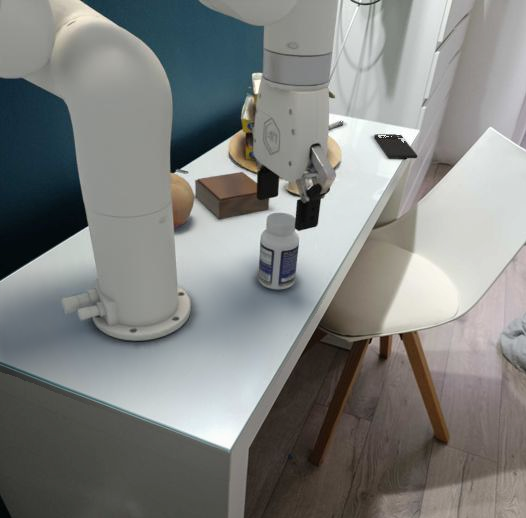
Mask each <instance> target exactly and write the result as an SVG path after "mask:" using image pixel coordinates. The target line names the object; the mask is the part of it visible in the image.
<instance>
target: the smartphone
mask: <svg viewBox="0 0 526 518" xmlns="http://www.w3.org/2000/svg"><path fill="white" fill-rule="evenodd" d="M396 134H397V133H375V134H374V135H373V138H374V139H375V141H376V142H377V143H378V144H379V146H380V147H381V149H382V151H383V152H384V153H385V155H386V157H387V158H388V159H417V158H418V154H417V153H416V151H414V149H413V148H412V146H411V145H410V144H409V143H408V142H407V140H405V141H404V143H403V142H402V141H401V139H398V138H404V137H403V135H402V134H400V135H396ZM378 135H386V136H389V137H386V136H385V137H386V138H385V137H384V136H381V137H382V138H379V137H378ZM391 136H392V137H391ZM383 137H384V138H383Z"/></svg>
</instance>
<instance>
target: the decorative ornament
mask: <svg viewBox="0 0 526 518" xmlns="http://www.w3.org/2000/svg"><path fill="white" fill-rule="evenodd" d="M305 173H307V172H306V171H305V172H304V174H305ZM305 182H306V185H307V188H308V187H309V186H310V180H307V181H305ZM285 190H287V192H289V193H293V194H295V195H299V196H300V194H299V190H298V187H297V183H296V181H295V182H288V184H287V185H286V187H285Z"/></svg>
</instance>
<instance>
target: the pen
mask: <svg viewBox="0 0 526 518" xmlns="http://www.w3.org/2000/svg"><path fill="white" fill-rule="evenodd" d="M341 121H342V120H338V121H335V122H333V123H330V124H329V130H331V129H334V128H337V127H338V126H341V125H343V124H344V123H345V122H344V120H343V121H342V122H341Z"/></svg>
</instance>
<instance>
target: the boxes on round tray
mask: <svg viewBox="0 0 526 518" xmlns="http://www.w3.org/2000/svg"><path fill="white" fill-rule="evenodd" d="M262 74H263V72H257V71H256V72H254V73H252V74H251V86H248V89H249V90H250V89H252V94H251V93H249V92H247V93H246V91H244V93H246V96H245V100H244V104H243V105H242V108H241V115H240V120H241V126H242V129H240V130H239V131H238V132H236V133H235V134H234V135H233V136H231V138H230V140H229V142H228V152H229V154H230V157H232V159H233V160H234V161H235V162H236V163H238V164H239V165H240V166H242V167H243V168H244V169H247V170H249V171H251V172H254V173H257V171H259V170H260V169H259V170H258V169H257V168H256V160H257V159H256V158H255V156H254V153H253V141H254V139H253V134H252V128H253V127H254V126H255V113H256V104H257V97H258V91H259V85H260V81H261V77H262ZM327 88H329V86H328V87H327ZM336 98H337V97H336V95H335V94H334V93H333V92H332V91H331V90H329V99H336ZM326 157H327V159H328V161H329V162H330V164H331V166H332V167H333V168H335V167H336V166H337V165H338V164H339V163H340V160H341V158H342V149H341V146H340V144H339V143H338V142H337V141H336V140H335V139H334V138H333V137H332V136H331V135H329V134H328V145H327V155H326ZM307 173H308V172H307ZM279 179H282V178H281V177H280V176H279Z"/></svg>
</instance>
